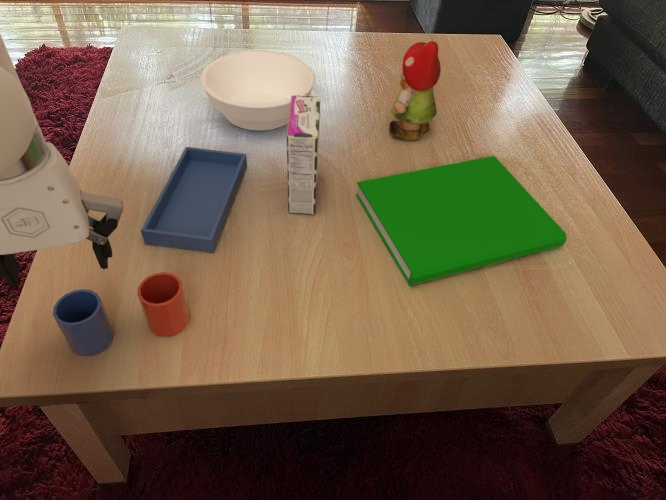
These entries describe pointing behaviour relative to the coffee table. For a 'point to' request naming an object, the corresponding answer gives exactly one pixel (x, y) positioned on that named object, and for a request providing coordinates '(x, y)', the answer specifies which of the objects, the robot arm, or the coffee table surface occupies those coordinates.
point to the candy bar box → (303, 154)
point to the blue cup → (84, 322)
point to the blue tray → (196, 200)
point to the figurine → (416, 92)
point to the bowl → (256, 87)
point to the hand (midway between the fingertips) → (60, 267)
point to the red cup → (164, 304)
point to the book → (456, 218)
